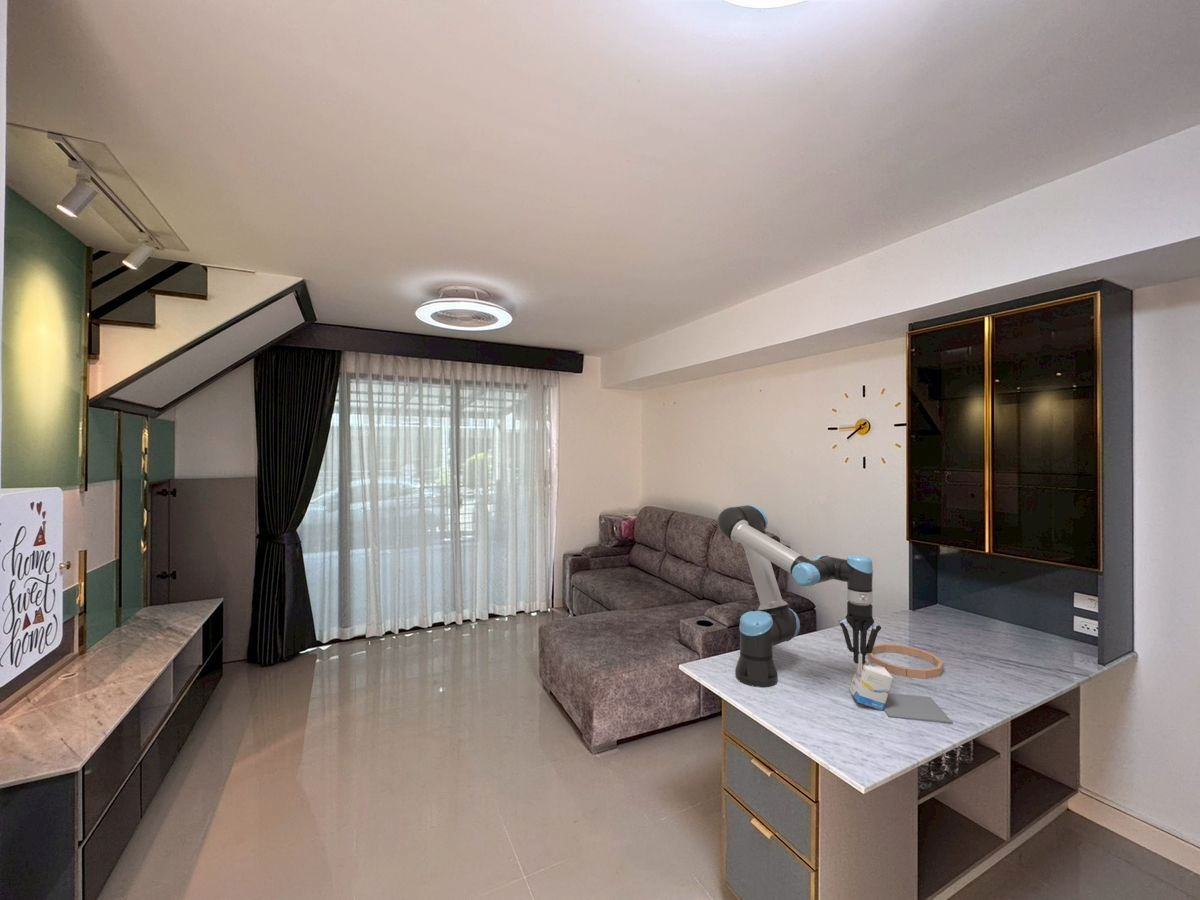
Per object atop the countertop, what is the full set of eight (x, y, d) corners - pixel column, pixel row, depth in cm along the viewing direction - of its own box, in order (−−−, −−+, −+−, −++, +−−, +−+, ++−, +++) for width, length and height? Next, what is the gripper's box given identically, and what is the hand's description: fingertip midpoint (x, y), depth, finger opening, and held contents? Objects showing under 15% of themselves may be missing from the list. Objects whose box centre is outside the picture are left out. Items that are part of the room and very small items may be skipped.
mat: (888, 717, 157) (888, 715, 157) (872, 693, 173) (872, 691, 173) (952, 723, 153) (952, 722, 153) (930, 698, 169) (930, 696, 169)
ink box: (883, 711, 161) (894, 677, 160) (856, 702, 162) (866, 668, 162) (874, 698, 169) (884, 666, 169) (849, 689, 171) (858, 657, 170)
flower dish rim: (879, 675, 186) (879, 667, 186) (860, 649, 211) (860, 642, 211) (954, 681, 181) (954, 673, 181) (925, 653, 205) (925, 646, 205)
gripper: (842, 604, 164) (841, 675, 164) (884, 607, 161) (883, 680, 161) (836, 597, 171) (836, 666, 171) (876, 600, 168) (876, 670, 168)
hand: (859, 672), depth 166 cm, fingers closed
